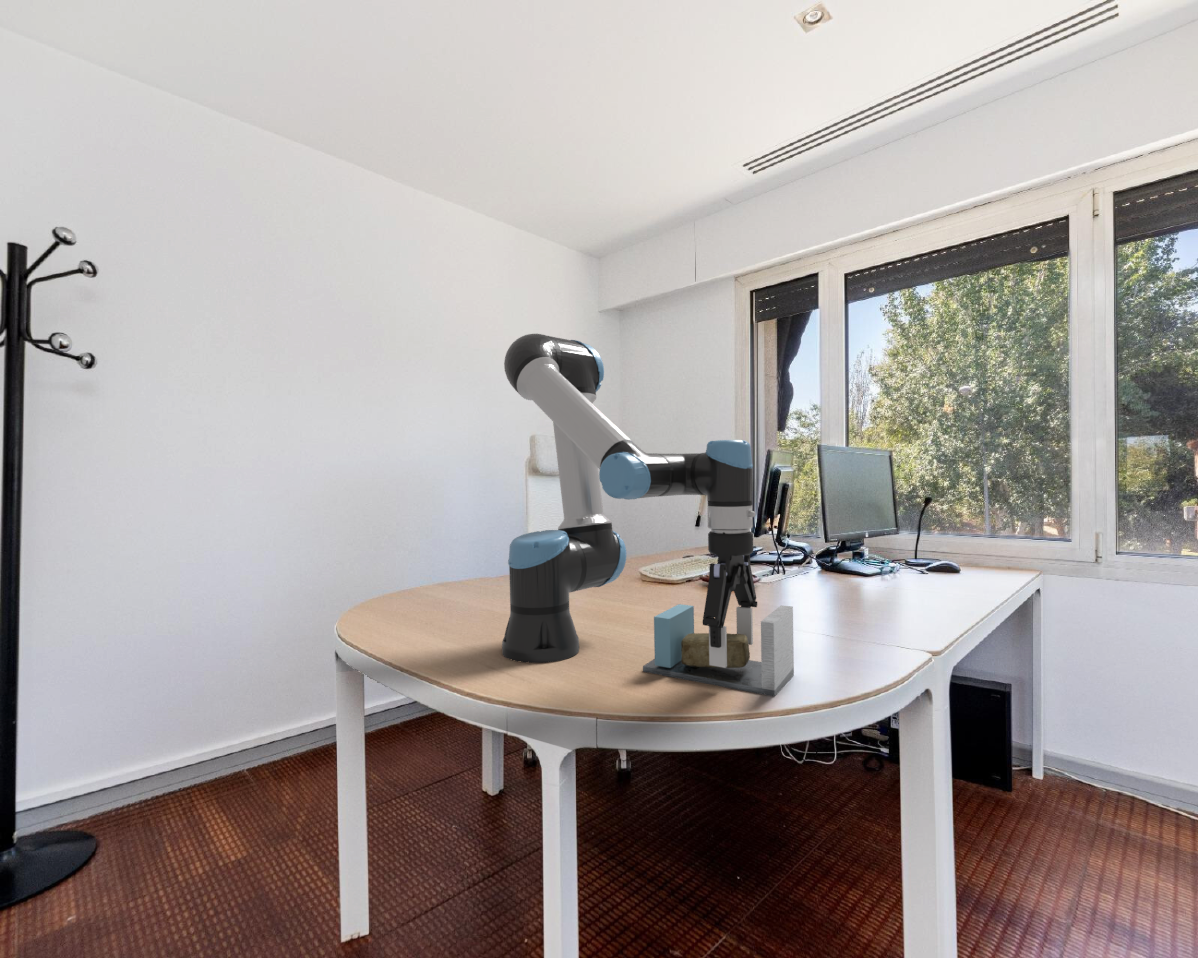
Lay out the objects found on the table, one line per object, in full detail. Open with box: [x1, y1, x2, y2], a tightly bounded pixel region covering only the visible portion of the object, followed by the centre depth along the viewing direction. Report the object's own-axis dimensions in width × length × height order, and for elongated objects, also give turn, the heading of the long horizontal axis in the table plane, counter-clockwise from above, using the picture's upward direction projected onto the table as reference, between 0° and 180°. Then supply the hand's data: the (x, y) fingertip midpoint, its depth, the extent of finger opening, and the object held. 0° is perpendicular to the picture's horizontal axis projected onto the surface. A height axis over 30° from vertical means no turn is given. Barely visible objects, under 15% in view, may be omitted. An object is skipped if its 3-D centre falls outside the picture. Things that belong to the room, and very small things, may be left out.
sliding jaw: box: [653, 603, 695, 668], centre depth 105 cm, size 3×11×8 cm, turn 148°
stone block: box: [681, 632, 751, 668], centre depth 100 cm, size 6×12×5 cm, turn 70°
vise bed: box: [642, 605, 795, 697], centre depth 101 cm, size 23×12×12 cm, turn 58°
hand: (732, 654), depth 99 cm, fingers open, 13 cm apart
